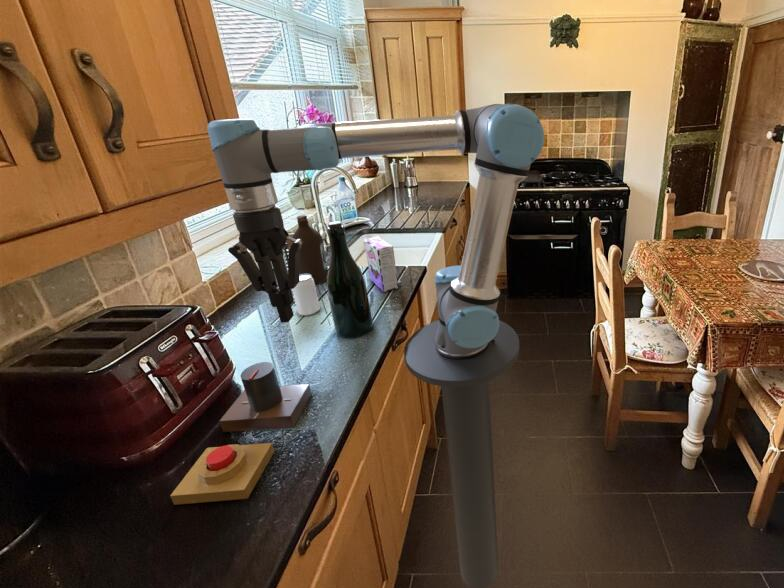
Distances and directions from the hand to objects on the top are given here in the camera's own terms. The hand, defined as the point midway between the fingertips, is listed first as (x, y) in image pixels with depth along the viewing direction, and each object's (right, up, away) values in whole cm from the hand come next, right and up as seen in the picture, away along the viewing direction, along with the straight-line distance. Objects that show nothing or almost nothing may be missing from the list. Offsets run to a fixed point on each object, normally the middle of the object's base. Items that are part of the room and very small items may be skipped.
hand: (287, 318), depth 82 cm
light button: (-5, -24, -11) cm, 27 cm away
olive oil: (-28, +4, +70) cm, 76 cm away
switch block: (-5, -27, -10) cm, 29 cm away
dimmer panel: (-7, -21, +5) cm, 23 cm away
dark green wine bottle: (0, -9, +37) cm, 38 cm away
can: (-19, -5, +47) cm, 51 cm away
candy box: (-1, +2, +65) cm, 65 cm away
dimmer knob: (-7, -18, +4) cm, 20 cm away
